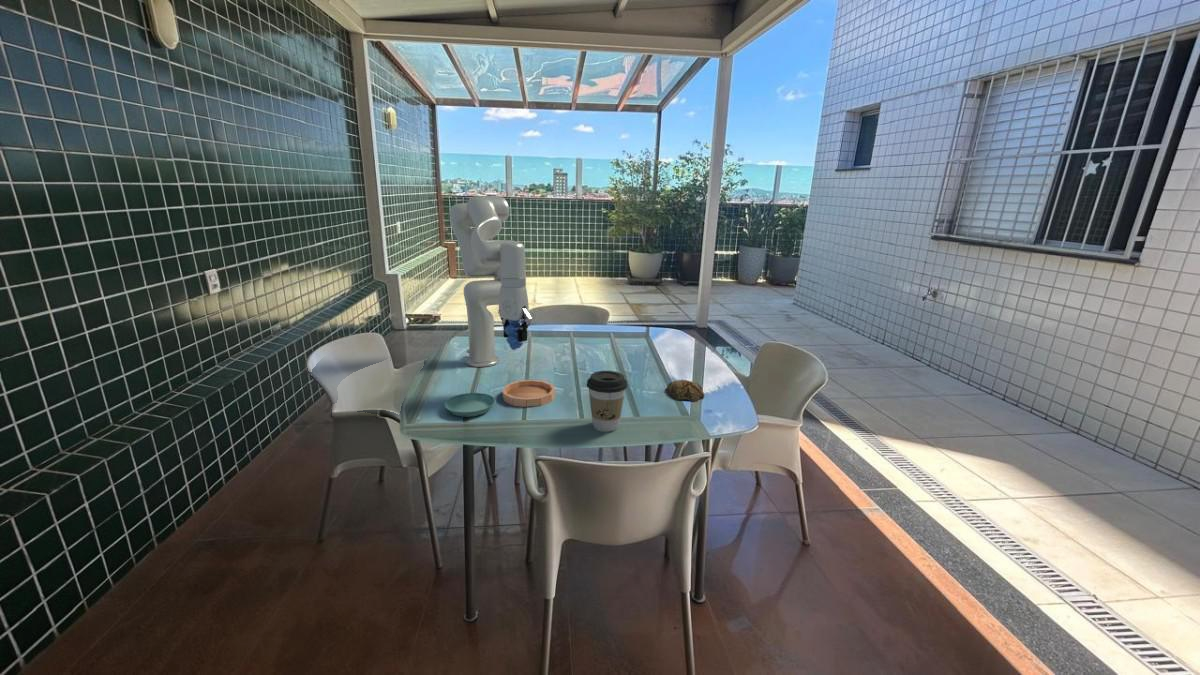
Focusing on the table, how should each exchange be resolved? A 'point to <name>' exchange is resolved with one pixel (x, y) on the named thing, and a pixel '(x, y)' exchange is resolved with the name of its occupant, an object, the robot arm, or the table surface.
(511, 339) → the grapes
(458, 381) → the table surface
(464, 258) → the robot arm
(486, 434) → the table surface
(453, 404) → the saucer
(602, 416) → the coffee cup
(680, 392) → the bread roll
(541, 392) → the platter
